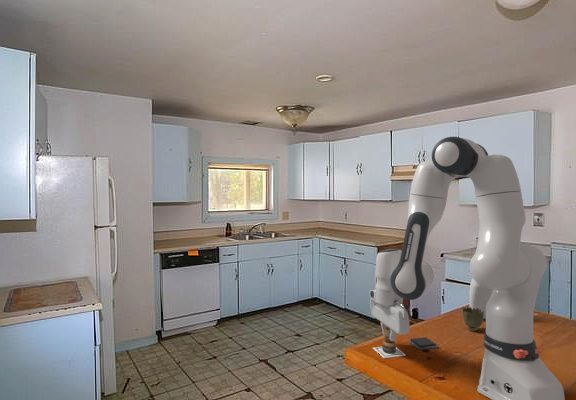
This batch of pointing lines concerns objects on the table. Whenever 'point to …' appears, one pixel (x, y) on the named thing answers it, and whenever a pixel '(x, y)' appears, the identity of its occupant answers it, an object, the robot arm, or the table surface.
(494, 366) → the robot arm
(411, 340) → the ink pad
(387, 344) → the stamp
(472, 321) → the cup
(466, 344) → the table surface
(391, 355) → the white flat square plate
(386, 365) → the table surface
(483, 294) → the soap bottle
